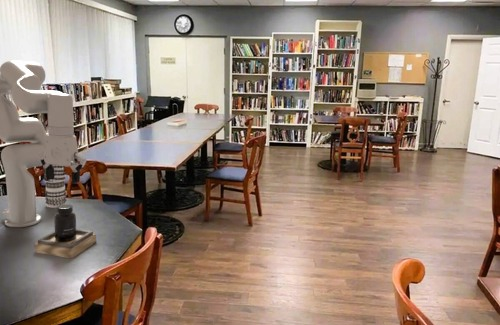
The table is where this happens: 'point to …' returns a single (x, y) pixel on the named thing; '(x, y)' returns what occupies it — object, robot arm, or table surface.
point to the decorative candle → (55, 188)
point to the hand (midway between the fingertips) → (63, 180)
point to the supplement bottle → (65, 223)
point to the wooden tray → (65, 244)
